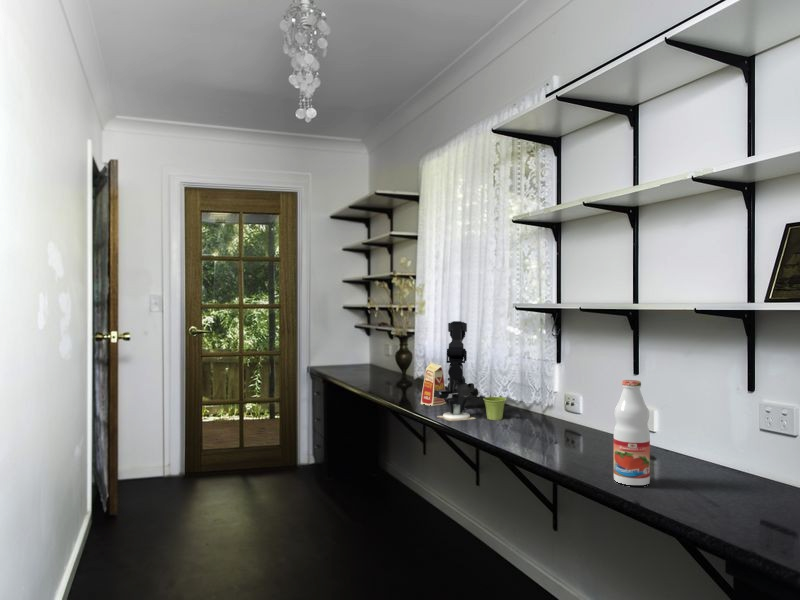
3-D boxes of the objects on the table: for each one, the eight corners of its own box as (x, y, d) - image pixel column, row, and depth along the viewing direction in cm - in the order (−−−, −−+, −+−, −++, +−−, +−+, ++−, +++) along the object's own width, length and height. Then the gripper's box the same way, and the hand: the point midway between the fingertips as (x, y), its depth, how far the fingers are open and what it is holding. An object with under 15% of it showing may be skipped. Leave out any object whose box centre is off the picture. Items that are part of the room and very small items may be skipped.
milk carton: (420, 404, 299) (420, 361, 299) (434, 401, 306) (433, 360, 305) (434, 406, 293) (434, 363, 292) (448, 404, 299) (447, 361, 299)
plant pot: (507, 422, 257) (507, 400, 256) (484, 422, 257) (484, 400, 257) (504, 417, 266) (504, 396, 266) (482, 417, 266) (481, 396, 266)
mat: (436, 417, 266) (436, 416, 266) (461, 414, 272) (461, 413, 272) (451, 422, 256) (451, 421, 256) (476, 419, 261) (476, 418, 261)
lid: (438, 416, 266) (438, 403, 266) (460, 413, 271) (460, 401, 271) (451, 420, 256) (451, 408, 256) (474, 418, 261) (474, 405, 261)
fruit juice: (650, 479, 177) (650, 379, 176) (649, 489, 168) (649, 384, 168) (614, 476, 180) (614, 378, 180) (612, 485, 172) (612, 382, 172)
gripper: (446, 379, 252) (446, 418, 252) (485, 376, 260) (485, 414, 261) (432, 376, 262) (433, 414, 262) (471, 373, 270) (471, 410, 271)
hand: (456, 413), depth 264 cm, fingers open, 4 cm apart
